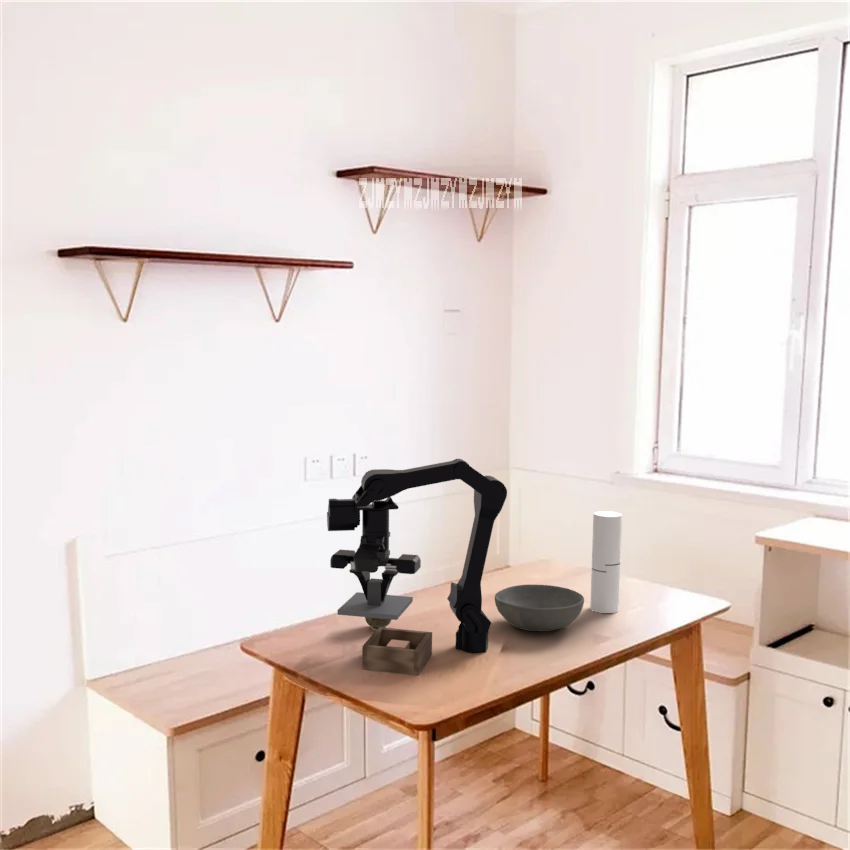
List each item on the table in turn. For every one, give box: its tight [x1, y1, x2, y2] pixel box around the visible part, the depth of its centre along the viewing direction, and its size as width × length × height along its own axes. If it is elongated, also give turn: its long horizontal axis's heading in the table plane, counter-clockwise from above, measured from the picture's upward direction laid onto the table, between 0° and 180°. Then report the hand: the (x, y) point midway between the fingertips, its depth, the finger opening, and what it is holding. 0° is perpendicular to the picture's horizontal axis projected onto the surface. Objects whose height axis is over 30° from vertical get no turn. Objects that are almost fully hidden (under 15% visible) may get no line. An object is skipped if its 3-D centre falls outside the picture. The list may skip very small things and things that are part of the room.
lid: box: [337, 577, 414, 621], centre depth 191 cm, size 13×13×6 cm
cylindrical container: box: [589, 510, 623, 614], centre depth 226 cm, size 7×7×25 cm
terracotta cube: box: [386, 640, 410, 649], centre depth 188 cm, size 4×4×4 cm
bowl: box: [494, 584, 585, 632], centre depth 213 cm, size 21×21×8 cm
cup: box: [364, 617, 392, 632], centre depth 208 cm, size 8×7×8 cm
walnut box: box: [361, 627, 433, 677], centre depth 188 cm, size 12×12×6 cm
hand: (375, 600), depth 191 cm, fingers closed on lid, 3 cm apart
